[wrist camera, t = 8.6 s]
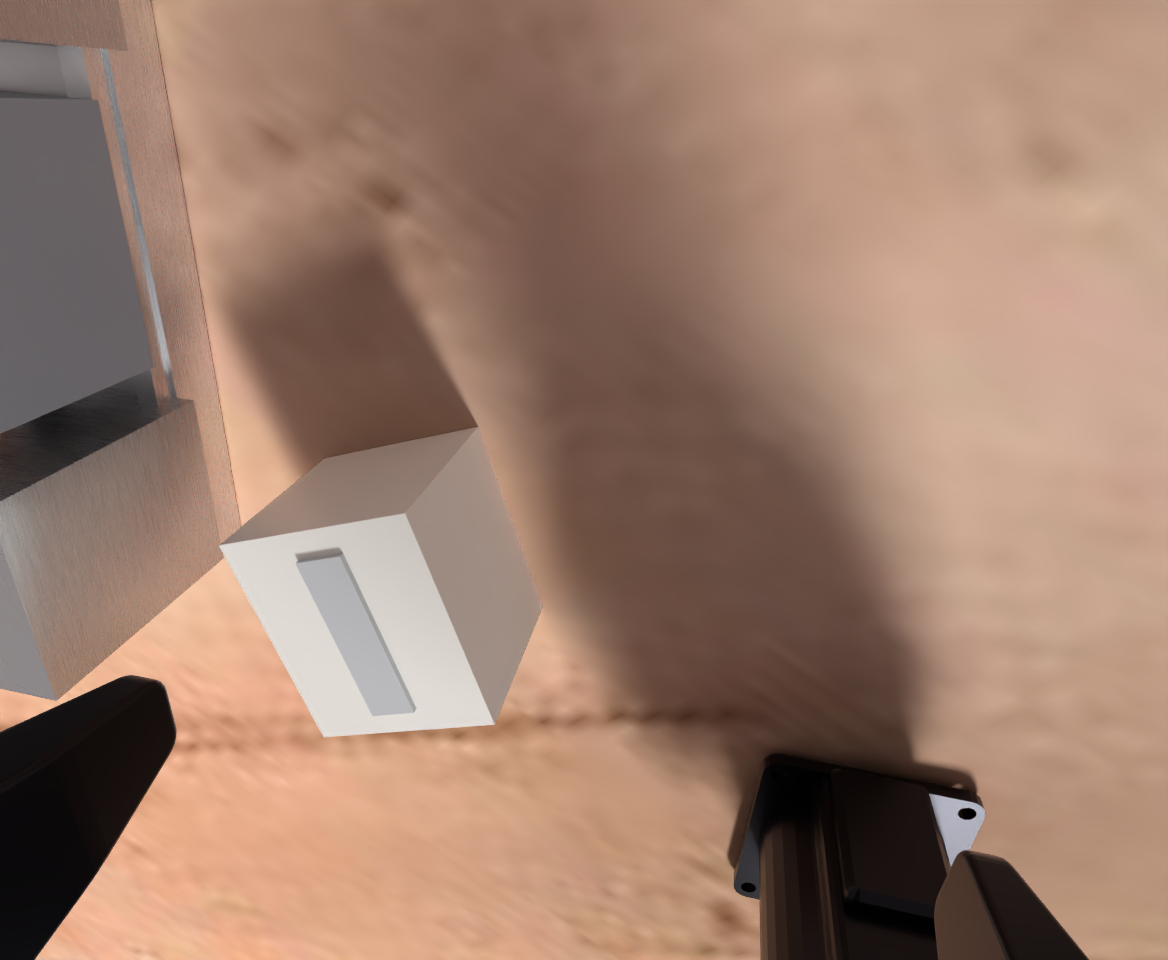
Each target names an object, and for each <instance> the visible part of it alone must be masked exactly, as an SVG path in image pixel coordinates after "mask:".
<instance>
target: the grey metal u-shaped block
mask: <svg viewBox="0 0 1168 960" xmlns="http://www.w3.org/2000/svg"><path fill="white" fill-rule="evenodd" d="M0 91H3V92H14V93H26V94H37V95H48V96H59V97H71V98H82V99H93V100H98V103H99V108H100V112H101V117H102V122H103V127H104V131H105V136H106V141H107V146H108V150H109V155H110V160H111V165H112V170H113V174H114V179H115V184H116V189H117V193H118V198H119V203H120V208H121V212H122V217H123V222H124V227H125V232H126V236H127V241H128V246H129V251H130V255H131V260H132V265H133V270H134V274H135V279H136V284H137V289H138V294H139V298H140V303H141V308H142V313H143V317H144V322H145V327H146V332H147V337H148V341H149V346H150V351H151V356H152V360H153V365H154V368H152V369H149V370H147V371H145V372H142V373H140V374H138V375H135V376H133V377H131V378H128V379H126V380H124V381H122V382H119V383H117V384H115V385H112V386H110V387H108V388H105V389H103V390H101V391H98V392H96V393H94V394H91V395H89V396H87V397H84V398H82V399H80V400H77V401H75V402H73V403H70V404H68V405H66V406H64V407H61V408H59V409H57V410H54V411H52V412H50V413H47V414H45V415H43V416H40V417H38V418H36V419H33V420H31V421H29V422H26V423H24V424H22V425H19V426H17V427H15V428H12V429H10V430H8V431H6V432H3V433H1V434H0V689H5V690H9V691H14V692H19V693H23V694H28V695H32V696H37V697H41V698H46V699H50V700H55V701H57V700H58V699H59V698H60V697H62V696H63V695H64V694H65V693H66V692H67V691H69V690H70V689H71V688H72V687H73V686H74V685H76V684H77V683H78V682H79V681H80V680H81V679H83V678H84V677H85V676H86V675H87V674H88V673H90V672H91V671H92V670H93V669H94V668H96V667H97V666H98V665H99V664H100V663H101V662H103V661H104V660H105V659H106V658H107V657H108V656H110V655H111V654H112V653H113V652H114V651H115V650H117V649H118V648H119V647H120V646H121V645H122V644H124V643H125V642H126V641H127V640H128V639H129V638H131V637H132V636H133V635H134V634H135V633H137V632H138V631H139V630H140V629H141V628H142V627H144V626H145V625H146V624H147V623H148V622H149V621H151V620H152V619H153V618H154V617H155V616H156V615H158V614H159V613H160V612H161V611H162V610H163V609H165V608H166V607H167V606H168V605H169V604H170V603H172V602H173V601H174V600H175V599H176V598H178V597H179V596H180V595H181V594H182V593H183V592H185V591H186V590H187V589H188V588H189V587H190V586H192V585H193V584H194V583H195V582H196V581H197V580H199V579H200V578H201V577H202V576H203V575H204V574H206V573H207V572H208V571H209V570H210V569H211V568H213V567H214V566H215V565H216V564H217V563H219V562H220V561H221V560H222V559H223V558H224V556H223V552H222V551H221V549H220V547H219V545H220V544H221V543H222V542H224V541H225V540H226V539H227V538H228V537H230V536H231V535H232V534H233V533H235V532H236V531H237V530H238V529H239V528H241V525H240V519H239V513H238V507H237V501H236V496H235V490H234V484H233V478H232V472H231V467H230V461H229V455H228V449H227V443H226V437H225V432H224V426H223V420H222V414H221V408H220V402H219V397H218V391H217V385H216V379H215V373H214V368H213V362H212V356H211V350H210V344H209V338H208V333H207V327H206V321H205V315H204V309H203V303H202V298H201V292H200V286H199V280H198V274H197V269H196V263H195V257H194V251H193V245H192V239H191V234H190V228H189V222H188V216H187V210H186V204H185V199H184V193H183V187H182V181H181V175H180V170H179V164H178V158H177V152H176V146H175V140H174V135H173V129H172V123H171V117H170V111H169V105H168V100H167V94H166V88H165V82H164V76H163V71H162V65H161V59H160V53H159V47H158V41H157V36H156V30H155V24H154V18H153V12H152V6H151V1H150V0H0Z"/></svg>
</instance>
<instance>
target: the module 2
mask: <svg viewBox="0 0 1168 960" xmlns="http://www.w3.org/2000/svg"><path fill="white" fill-rule="evenodd" d="M219 547H220V549H221V551H222V552H223V554H224V556H225V558H226V560H227V562H228V563H229V565H230V567H231V569H232V571H233V572H234V574H235V576H236V578H237V580H238V582H239V583H240V585H241V587H242V589H243V591H244V593H245V594H246V596H247V598H248V600H249V602H250V603H251V605H252V607H253V609H254V611H255V613H256V614H257V616H258V618H259V620H260V622H261V624H262V625H263V627H264V629H265V631H266V633H267V634H268V636H269V638H270V640H271V642H272V644H273V645H274V647H275V649H276V651H277V653H278V655H279V656H280V658H281V660H282V662H283V664H284V666H285V667H286V669H287V671H288V673H289V675H290V676H291V678H292V680H293V682H294V684H295V686H296V687H297V689H298V691H299V693H300V695H301V697H302V698H303V700H304V702H305V704H306V706H307V707H308V709H309V711H310V713H311V715H312V717H313V718H314V720H315V722H316V724H317V726H318V728H319V729H320V731H321V733H322V735H323V737H332V736H346V735H359V734H373V733H387V732H400V731H414V730H427V729H441V728H455V727H468V726H482V725H495V722H496V720H497V718H498V715H499V713H500V710H501V708H502V705H503V703H504V700H505V698H506V696H507V693H508V691H509V688H510V686H511V683H512V681H513V678H514V676H515V674H516V671H517V669H518V666H519V664H520V661H521V659H522V656H523V654H524V652H525V649H526V647H527V644H528V642H529V639H530V637H531V634H532V632H533V629H534V627H535V625H536V622H537V620H538V617H539V615H540V612H541V610H542V607H543V605H542V602H541V599H540V597H539V594H538V591H537V588H536V585H535V583H534V580H533V577H532V574H531V571H530V569H529V566H528V563H527V560H526V558H525V555H524V552H523V549H522V546H521V544H520V541H519V538H518V535H517V533H516V530H515V527H514V524H513V521H512V519H511V516H510V513H509V510H508V508H507V505H506V502H505V499H504V496H503V494H502V491H501V488H500V485H499V483H498V480H497V477H496V474H495V471H494V469H493V466H492V463H491V460H490V457H489V455H488V452H487V449H486V446H485V444H484V441H483V438H482V435H481V432H480V430H479V427H475V428H470V429H465V430H460V431H455V432H450V433H445V434H440V435H436V436H431V437H426V438H421V439H416V440H411V441H406V442H401V443H397V444H392V445H387V446H382V447H377V448H372V449H367V450H363V451H358V452H353V453H348V454H343V455H338V456H333V457H328V458H324V459H323V460H322V461H321V462H319V463H318V464H317V465H316V466H315V467H313V468H312V469H311V470H310V471H309V472H307V473H306V474H305V475H304V476H302V477H301V478H300V479H299V480H298V481H296V482H295V483H294V484H293V485H292V486H290V487H289V488H288V489H287V490H286V491H284V492H283V493H282V494H281V495H279V496H278V497H277V498H276V499H275V500H273V501H272V502H271V503H270V504H269V505H267V506H266V507H265V508H264V509H262V510H261V511H260V512H259V513H258V514H256V515H255V516H254V517H253V518H252V519H250V520H249V521H248V522H247V523H245V524H244V525H243V526H242V527H241V528H239V529H238V530H237V531H236V532H235V533H233V534H232V535H231V536H230V537H228V538H227V539H226V540H225V541H224V542H222V543H221V544H220V545H219Z"/></svg>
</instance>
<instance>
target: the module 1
mask: <svg viewBox="0 0 1168 960" xmlns="http://www.w3.org/2000/svg"><path fill="white" fill-rule="evenodd" d="M152 368H154V365H153V360H152V356H151V351H150V346H149V341H148V337H147V332H146V327H145V322H144V317H143V313H142V308H141V303H140V298H139V294H138V289H137V284H136V279H135V274H134V270H133V265H132V260H131V255H130V251H129V246H128V241H127V236H126V232H125V227H124V222H123V217H122V212H121V208H120V203H119V198H118V193H117V189H116V184H115V179H114V174H113V170H112V165H111V160H110V155H109V150H108V146H107V141H106V136H105V131H104V127H103V122H102V117H101V112H100V108H99V103H98V100H93V99H82V98H71V97H59V96H48V95H37V94H26V93H14V92H3V91H0V434H1V433H3V432H6V431H8V430H10V429H12V428H15V427H17V426H19V425H22V424H24V423H26V422H29V421H31V420H33V419H36V418H38V417H40V416H43V415H45V414H47V413H50V412H52V411H54V410H57V409H59V408H61V407H64V406H66V405H68V404H70V403H73V402H75V401H77V400H80V399H82V398H84V397H87V396H89V395H91V394H94V393H96V392H98V391H101V390H103V389H105V388H108V387H110V386H112V385H115V384H117V383H119V382H122V381H124V380H126V379H128V378H131V377H133V376H135V375H138V374H140V373H142V372H145V371H147V370H149V369H152Z"/></svg>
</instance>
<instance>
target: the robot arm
mask: <svg viewBox="0 0 1168 960" xmlns="http://www.w3.org/2000/svg"><path fill="white" fill-rule="evenodd" d="M175 740H176V725H175V721H174V718H173V714H172V710H171V706H170V702H169V698H168V694H167V691H166V688H165V686H164V685H163V684H162V683H161V682H160V681H158V680H154V679H149V678H144V677H140V676H134V675H129V676H124V677H121V678H118V679H116V680H114V681H111V682H109V683H107V684H105V685H103V686H100V687H98V688H96V689H94V690H92V691H90V692H87V693H85V694H83V695H81V696H79V697H76V698H74V699H72V700H70V701H68V702H65V703H63V704H61V705H59V706H57V707H54V708H52V709H50V710H48V711H46V712H43V713H41V714H39V715H37V716H35V717H32V718H30V719H28V720H26V721H24V722H21V723H19V724H17V725H15V726H13V727H10V728H8V729H6V730H4V731H2V732H0V960H35V958H36V957H37V956H38V954H39V953H40V952H41V950H42V949H43V947H44V946H45V945H46V943H47V942H48V941H49V939H50V938H51V936H52V935H53V934H54V932H55V931H56V930H57V928H58V927H59V926H60V924H61V923H62V921H63V920H64V919H65V917H66V916H67V915H68V913H69V912H70V910H71V909H72V908H73V906H74V905H75V904H76V902H77V901H78V900H79V898H80V897H81V895H82V894H83V893H84V891H85V890H86V888H87V887H88V885H89V884H90V883H91V881H92V880H93V878H94V877H95V875H96V874H97V872H98V871H99V869H100V868H101V866H102V864H103V863H104V861H105V860H106V858H107V857H108V855H109V854H110V852H111V850H112V849H113V847H114V845H115V844H116V842H117V840H118V839H119V837H120V835H121V834H122V832H123V831H124V829H125V827H126V826H127V824H128V822H129V821H130V819H131V817H132V816H133V814H134V812H135V811H136V809H137V807H138V806H139V804H140V802H141V801H142V799H143V797H144V796H145V794H146V793H147V791H148V789H149V788H150V786H151V784H152V783H153V781H154V779H155V778H156V776H157V774H158V773H159V771H160V769H161V768H162V766H163V764H164V763H165V761H166V759H167V758H168V756H169V755H170V753H171V751H172V749H173V746H174V744H175ZM776 770H783V771H776ZM963 808H966V809H963ZM985 814H986V812H985V810H984V807H983V804H982V801H981V799H980V797H979V796H978V795H976V794H975V793H972V792H969V791H965V790H960V789H955V788H950V787H945V786H940V785H935V784H930V783H925V782H920V781H915V780H910V779H905V778H900V777H895V776H890V775H885V774H880V773H875V772H870V771H865V770H860V769H855V768H850V767H845V766H840V765H835V764H830V763H825V762H820V761H815V760H810V759H805V758H800V757H795V756H790V755H785V754H772V755H769V756H767V757H766V758H765V759H764V761H763V763H762V767H761V771H760V775H759V779H758V782H757V786H756V790H755V794H754V798H753V802H752V806H751V809H750V813H749V817H748V821H747V825H746V829H745V833H744V837H743V840H742V844H741V848H740V852H739V856H738V860H737V864H736V868H735V871H734V889H735V890H736V892H738V893H739V894H741V895H743V896H746V897H750V898H755V899H759V900H760V949H761V960H1089V959H1088V958H1087V956H1086V955H1085V954H1084V953H1083V951H1082V950H1081V949H1080V948H1079V947H1078V945H1077V944H1076V943H1075V942H1074V940H1073V939H1072V938H1071V937H1070V936H1069V934H1068V933H1067V932H1066V931H1065V929H1064V928H1063V927H1062V926H1061V925H1060V923H1059V922H1058V921H1057V920H1056V918H1055V917H1054V916H1053V915H1052V914H1051V912H1050V911H1049V910H1048V909H1047V908H1046V906H1045V905H1044V904H1043V903H1042V901H1041V900H1040V899H1039V898H1038V897H1037V895H1036V894H1035V893H1034V892H1033V890H1032V889H1031V888H1030V887H1029V886H1028V884H1027V883H1026V882H1025V881H1024V879H1023V878H1022V877H1021V876H1020V875H1019V873H1018V872H1017V871H1016V870H1015V868H1014V867H1013V866H1012V865H1011V864H1010V863H1008V862H1007V861H1006V860H1005V859H1003V858H1001V857H998V856H994V855H989V854H984V853H979V852H975V851H970V850H969V849H970V847H971V845H972V843H973V841H974V839H975V837H976V835H977V833H978V831H979V829H980V827H981V825H982V822H983V820H984V818H985Z"/></svg>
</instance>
